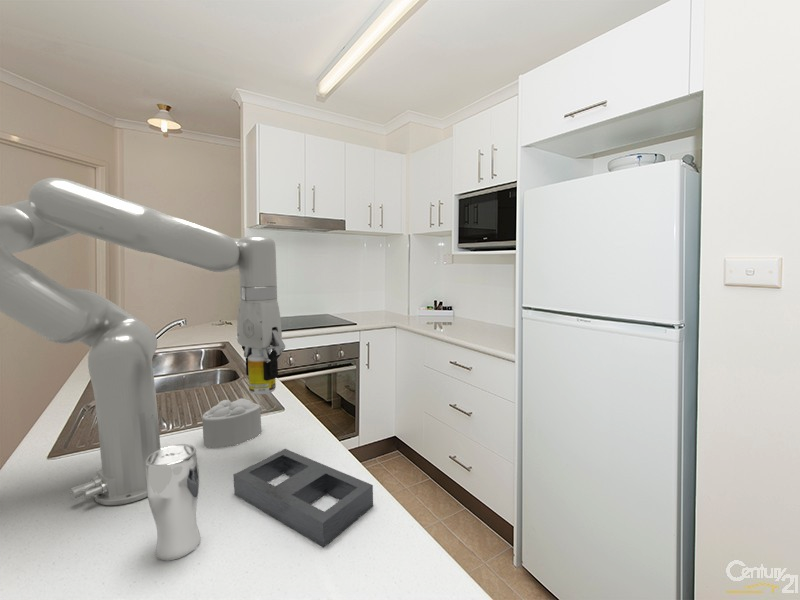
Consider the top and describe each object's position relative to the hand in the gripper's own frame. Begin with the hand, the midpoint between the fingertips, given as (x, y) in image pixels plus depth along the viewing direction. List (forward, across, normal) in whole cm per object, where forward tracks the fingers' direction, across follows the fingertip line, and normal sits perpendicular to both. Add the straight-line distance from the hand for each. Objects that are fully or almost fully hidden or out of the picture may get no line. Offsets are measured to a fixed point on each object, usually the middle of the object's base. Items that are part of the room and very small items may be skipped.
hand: (262, 375), depth 85 cm
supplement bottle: (+4, 0, 0) cm, 4 cm away
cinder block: (+19, +19, -6) cm, 28 cm away
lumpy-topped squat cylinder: (+19, -16, +2) cm, 25 cm away
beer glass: (+19, +12, -24) cm, 33 cm away
